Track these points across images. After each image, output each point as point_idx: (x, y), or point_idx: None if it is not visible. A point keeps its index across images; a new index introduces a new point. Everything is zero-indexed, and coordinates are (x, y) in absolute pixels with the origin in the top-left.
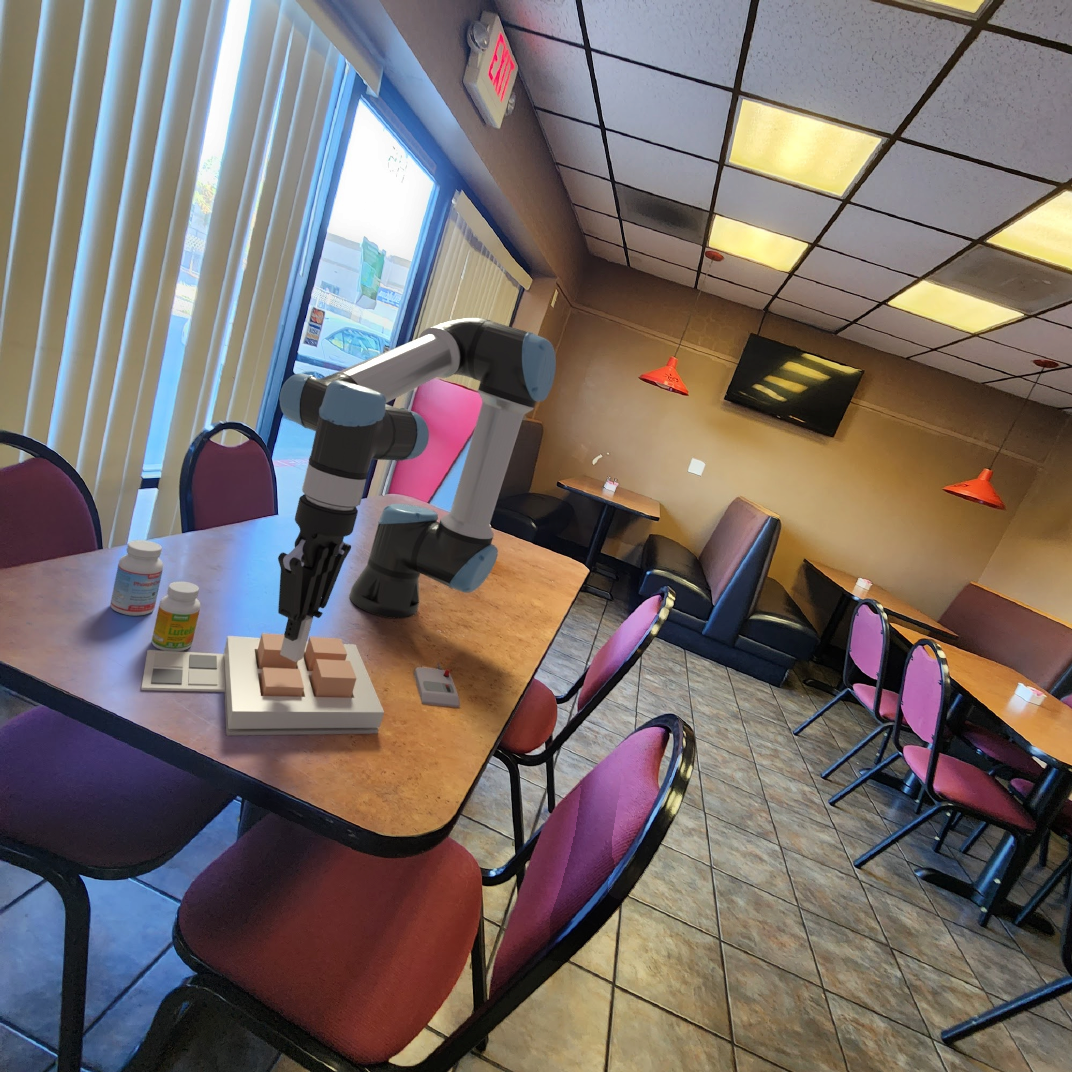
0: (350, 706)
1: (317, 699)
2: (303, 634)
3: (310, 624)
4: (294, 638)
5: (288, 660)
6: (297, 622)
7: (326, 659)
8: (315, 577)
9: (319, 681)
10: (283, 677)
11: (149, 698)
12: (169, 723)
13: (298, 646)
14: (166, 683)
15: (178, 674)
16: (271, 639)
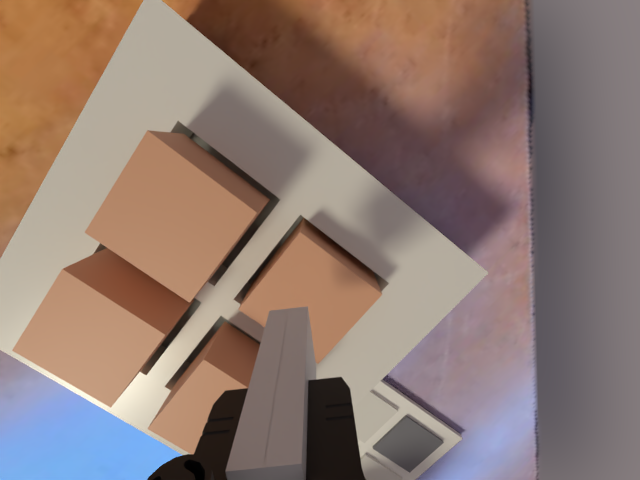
0: (225, 93)
1: (281, 184)
2: (297, 385)
3: (245, 428)
4: (333, 385)
5: (236, 353)
6: (352, 471)
7: (137, 296)
8: None
9: (255, 216)
10: (309, 301)
11: (467, 409)
12: (499, 337)
13: (307, 347)
14: (425, 428)
15: (391, 440)
16: None
